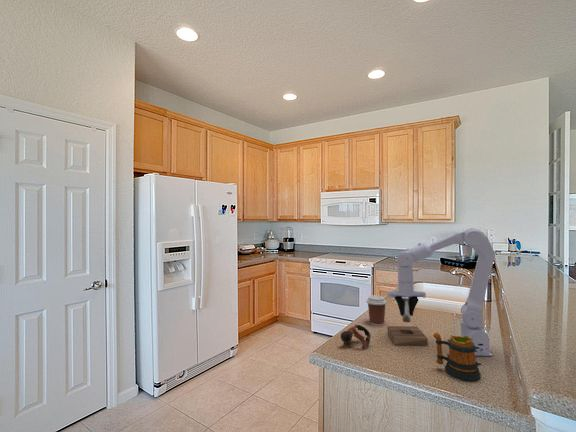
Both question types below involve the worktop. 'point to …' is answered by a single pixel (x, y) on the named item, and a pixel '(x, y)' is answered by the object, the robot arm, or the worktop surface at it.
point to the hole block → (407, 335)
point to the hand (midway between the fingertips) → (406, 315)
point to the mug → (459, 358)
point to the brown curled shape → (356, 335)
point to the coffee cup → (376, 309)
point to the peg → (406, 310)
